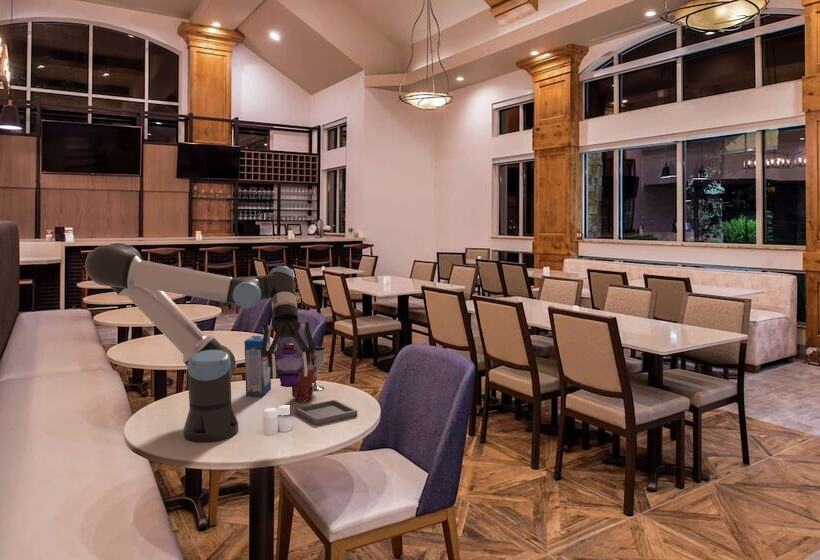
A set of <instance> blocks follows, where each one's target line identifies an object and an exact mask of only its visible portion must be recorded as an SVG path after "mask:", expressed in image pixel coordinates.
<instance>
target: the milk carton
mask: <svg viewBox="0 0 820 560" xmlns="http://www.w3.org/2000/svg"><path fill="white" fill-rule="evenodd" d="M263 336H264V335H252V336H250V337H249V338H247V339H245V340H244V366H245V367H244V372H245V375H244V376H245V396H246V398H247V396H250V397H249V398H252V397H253V398H264V397H265V396H266V395H267V393H269V392H270V391H271V390H272V378H271V377H272V376H271V375H272V372H271V370H272V367H268V358H267V357H262V356H261V348H262V342H263ZM270 346H271V336H270V335H268V341H267V348H266V351H268V350H269V348H270ZM269 390H270V391H269Z"/></svg>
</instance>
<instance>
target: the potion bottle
mask: <svg viewBox="0 0 820 560" xmlns="http://www.w3.org/2000/svg"><path fill="white" fill-rule="evenodd" d="M281 354H282V355H283V358H280V359H275V366H276V378H278V377H279V382H280V384H279V385H280V387H284V388H292V387H295V386H297V385H299V380H300V375H301V373H300V372H301V371H302V369H303V364H304V361H303V359H302V358H299V357H296V356H295V354H297V347H296V346H295V343H291V342H286V343H283V347H281Z"/></svg>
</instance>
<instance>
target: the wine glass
mask: <svg viewBox="0 0 820 560" xmlns="http://www.w3.org/2000/svg"><path fill="white" fill-rule="evenodd" d="M307 347H308V348H309V346H307ZM325 359H326V347H324V346H318V345H317V346H315V353H314V354H310V364H309V366H313V367H314V375H316V376H317V374H318V371H319V370H320V368H321V367H322V366H324V362H325ZM312 387H313V390H320V391H322V390H321V389H323V390H325V389H324V387H325V386H323V385H317V381H316V382H314V383H313V384H312Z"/></svg>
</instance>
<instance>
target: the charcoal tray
mask: <svg viewBox="0 0 820 560" xmlns="http://www.w3.org/2000/svg"><path fill="white" fill-rule="evenodd" d="M294 408H295V409H294V414H296V413H297V414H296V415H298V416H299V417H302V418H303V419H305V420H306V421H308V422H309V423H312V424H313V425H315V426H319V425H324V424H329V423H333V422H336V421H337V422H338V421H342V420H346V419H345V418H347V419H350V417H351V418H355V417H358V410H357V409H355V408H353V407H351V406H349V405H347V404H345V403H344V402H341V401H339V400H336V399H331V400H330V399H329V400H326V401H322V402H317V403H316V402H315V403H310V404H306V405H301V406H297V407H294Z"/></svg>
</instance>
